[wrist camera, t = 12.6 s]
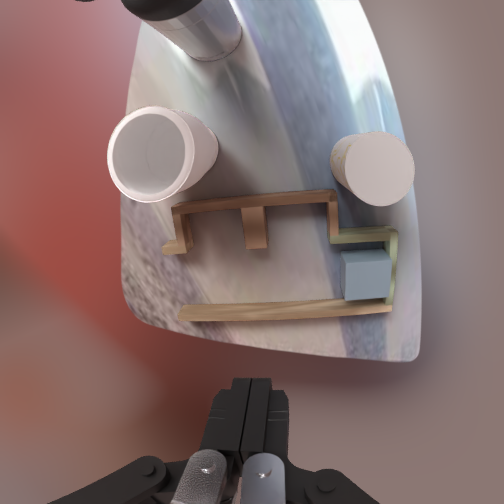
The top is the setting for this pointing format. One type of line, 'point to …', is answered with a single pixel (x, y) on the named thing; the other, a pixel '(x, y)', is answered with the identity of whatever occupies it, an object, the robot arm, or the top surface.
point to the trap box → (258, 239)
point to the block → (365, 274)
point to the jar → (159, 153)
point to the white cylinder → (373, 167)
